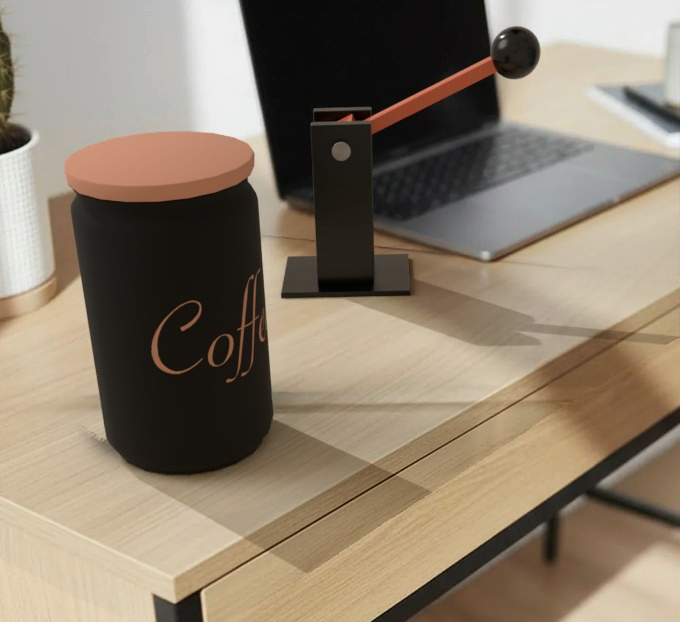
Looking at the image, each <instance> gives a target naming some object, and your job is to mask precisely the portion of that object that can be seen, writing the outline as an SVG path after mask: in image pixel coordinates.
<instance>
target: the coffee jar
mask: <svg viewBox="0 0 680 622" xmlns="http://www.w3.org/2000/svg"><path fill="white" fill-rule="evenodd" d="M255 156H256V155H255V151H254V150H253V148H252V147H251V146H250V144H249V143H248V142H245V141H243V140H241V139H238V138H237V137H234V136H230V135H224V134H219V133H215V132H203V131H191V130H182V131H177V130H176V131H155V132H154V131H153V132H145V133H136V134H130V135H129V134H128V135H124V136H120V137H113V138H110V139H105V140H102V141H99V142H96V143H93V144H89V145H87V146H85V147H83V148H81V149H79V150H77V151H75V152H72V153H71V154H70V155H69V156H68V157H67V159H66V160H64V162H63V170H64V174H65V179H66V183H67V186H68V187H69V188H70V189H71V190H72V191H73V192H74V193H75V194H76V195H75V197H74V199H73V200H72V202H71V203H70V216H71V223H72V230H73V236H74V241H75V248H76V254H77V255H76V256H77V262H78V267H79V268H78V269H79V275H80V280H81V281H80V282H81V288H82V293H83V300H84V305H85V313H86V319H87V326H88V332H89V337H90V345H91V349H92V350H91V351H92V356H93V357H92V358H93V363H94V371H95V375H96V382H97V389H98V394H99V401H100V407H101V413H102V420H103V427H104V432H105V438H106V440H107V442H108V443H109V445H110V446H111V447H112V448H113V449H114V450H115V451H116V452H117V453H118V454H119V455H120V456H121V458H122V459H124V461H126V462H127V464H129V465H131V466H132V467H135V468H138V469H140V470H142V471H144V472H149V473H154V474H159V475H165V476H194V475H199V474H207V473H213V472H217V471H219V470H223V469H226V468H228V467H231V466H235V465H237V464H238V463H240V462H242V461H244V460H245V459H247V458H248V457H250V456H252V455H253V454H254V453H255V452H256V450H258V449H259V448H260V446H261V445H262V444H263V441H264V439H265V438H266V437H267V436H268V434H269V432H270V430H271V427H272V422H273V419H274V418H273V417H274V406H273V405H274V404H273V389H272V375H271V362H270V346H269V333H268V321H267V320H268V318H267V305H266V291H265V290H266V289H265V277H264V263H263V250H262V249H263V248H262V247H263V246H262V237H261V236H262V235H261V233H262V232H261V221H260V208H259V198H258V195H257V192H256V190H255V189H254V188H253V186H252V184H251V183H250V182H249V177H250V176H251V174H252V172H253V170H254V168H255Z"/></svg>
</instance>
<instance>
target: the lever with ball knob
mask: <svg viewBox="0 0 680 622" xmlns="http://www.w3.org/2000/svg"><path fill="white" fill-rule="evenodd" d="M489 52H490V53H489V55H490V56H488V57H486V58H484V59H482V60H480V61H478V62H475V63H474V64H472V65H470V66H468V67H466V68H464V69H462V70H460V71H458V72H455V74H452V75H451V76H448V77H446V78H444V79H443V80H440V81H439V82H436V83H435V84H433V85H430V86H429V87H426V88H425V89H422V90H421V91H418V92H417V93H415V94H413V95H410V96H409V97H407V98H405V99H403V100H401V101H399V102H397V103H395V104H393V105H391V106H389V107H387V108H385V109H383V110H381V111H380V112H377V113H375V114H373V115H372V116H371V117H369V118H367V119H365V120H363V121H371V135H372V136H373V134H375V133H378V132H380V131H382V130H384V129H386V128H388V127H390V126H392V125H394V124H395V123H398V122H400V121H402V120H404V119H405V118H408V117H410V116H412V115H415V113H419V112H420V111H422V110H423V109H425V108H428V107H429V106H432V105H434V104H436V103H438V102H439V101H441V100H444V99H446V98H448V97H450V96H452V95H453V94H456V93H458V92H460V91H462V90H464V89H465V88H467V87H469V86H471V85H474V84H475V83H477V82H479V81H481V80H483V79H485V78H487V77H489V76H491V75H493V74H495V73H497V74H498V75H500V76H501V77H503V78H505V79H508V80H520V79H521V80H522V79H524V78H526V77H528V76H529V75H530V74H532V73H533V72H534V70H535V69H536V68H537V66H538V65H539V62H540V59H541V53H542V51H541V44H540V41H539V39H538V37H537V35H536V34H535V33H534V32H533V31H532V30H530V29H529V28H526V27H525V26H522V25H521V26H520V25H513V26H509V27H506V28H503V30H501V31H500V32H499V33H498V34H496V36H495V38H494V39H493V40H492V43H491V45H490V51H489ZM339 121H356V120H355V118H354V116H353V114H350V115H348V116H346V117H345V118H343V119H341V120H339ZM337 122H338V121H337Z"/></svg>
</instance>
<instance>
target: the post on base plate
mask: <svg viewBox="0 0 680 622" xmlns="http://www.w3.org/2000/svg"><path fill="white" fill-rule="evenodd" d="M350 114H353V116H354V118H355V120H356V121H339V120H341V119H343V118H345V117H346V116H348V115H350ZM312 116H313V117H312V118H313V121H312V122H310V144H311V163H312V164H311V165H312V166H311V167H312V185H313V189H312V190H313V210H314V230H315V232H314V233H315V248H316V249H315V253H316V255H291V256H289V255H288V256H287V258H286V259H287V260H286V264H285V269H284V275H283V280H282V285H281V292H280V299H310V298H311V299H314V298H315V299H318V298H320V299H323V298H324V299H325V298H365V297H366V298H367V297H369V298H370V297H371V298H372V297H410V296H411V280H410V278H411V277H410V276H411V275H410V260H409V253H385V254H384V253H383V254H381V253H379V254H375V235H374V234H375V226H374V223H375V222H374V221H375V219H374V179H373V178H374V175H373V174H374V173H373V170H374V169H373V168H374V167H373V134H372V135H371V121H363V120H365V119H367V118H369V117H371V116H373V115H372V107H371V106H351V107H318V108H317V107H316V108H313V111H312ZM337 121H338V122H337Z"/></svg>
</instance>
